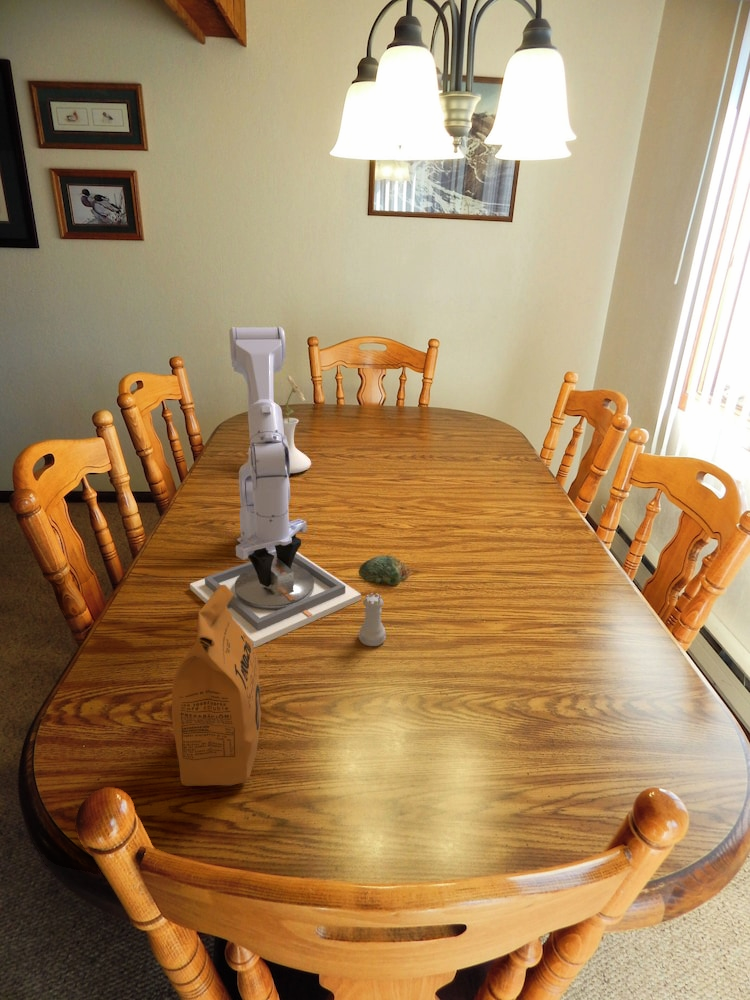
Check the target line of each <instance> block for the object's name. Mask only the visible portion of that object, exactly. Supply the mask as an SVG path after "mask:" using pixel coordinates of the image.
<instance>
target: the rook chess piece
mask: <svg viewBox="0 0 750 1000" xmlns="http://www.w3.org/2000/svg"><path fill="white" fill-rule="evenodd" d="M362 602H363V603H362V604H363V606H364V607H365V608H364V613H365V617H364V621H363V624H362V625H361V626H360V628H359V632H358V633H359V634H358V639H359V641H360V643H362V644H364V646H368V647H378V646H380V645H382V644H383V643H384V642H385V641H386V638H387V636H386V629H385V627H384V625H383V623H382V617H381V616H382V615H381V614H382V612H383V610H382V607H383V606H384V604H385V603H384V600H383V599H382V595H379V593H375V594H374V593H373V592H372V593H371V592H370V593H369V594H367V595H365V598H364V600H363V601H362Z"/></svg>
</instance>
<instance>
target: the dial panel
mask: <svg viewBox="0 0 750 1000" xmlns="http://www.w3.org/2000/svg"><path fill="white" fill-rule="evenodd" d="M273 554H275V555H276V556H277V554H276V552H275V553H273ZM292 565H296V566H299V567H301V568H304V569H305V570H307V571H308V572H309V573H310V574H311V575H312V576H313V579H314V590H313V592H312V594H311V595H310V596H309V597H308V598H306V599H304V600H302V601H299V602H297V603H295V604H292V605H290V606H287V607H285V608H283V609H259V608H254V607H251V606H248V605H246V604H244V603H243V602H241V601H240V600H239V599H238V598H237V596H236V594H235V582H236V580H237V578H238V577H239V576H240V575H241V574H242V573H244V572H245V571H247V570H249V569H251V568H253V567H254V566H253V564H252V563H251V561H250V560H249V561H247V562H245V563H242V564H238V565H236V566H233V567H230V568H228V569H225V570H222V571H219V572H217V573H214V574H210V575H208V576H205V577H204V578H202V579H199V580H197V581H194V582H191V583H189V587H190V588H189V589H190V591H192V592H193V593H194V594H195V595H196V596H197V597H198V598H199V599H200V600H201V601H203V603H205V604H206V602H207V601H208V600H209V599H210V597H211V596H212V595H213V594H214V592H215V591H216V589H217V588H218V587H219V585H226V586H227V587H228V588H229V590H230V591H231V592H232V593H233V597H232V599H231V601H230V602H229V603H228V604H227V608H228V610H229V612H230V614H231V616H232V618H233V620H234V621H235V622H236V623H237V624H238V625H239V626H240V627H241V628H242V629H243V631H244V632H245V633H246V635H247V636H248V638H249V639H250V641H251V642H252V644H253V647H254V649H255V648H257V647H259V646H262V645H264V644H266V643H268V642H271V641H273V640H274V639H277V638H279V637H282V636H283V635H286V634H288V633H290V632H293V631H295V630H297V629H300V628H301V627H303V626H306V625H308V624H311V623H313V622H315V621H317V620H319V619H321V618H324V617H326V616H328V615H331V614H333V613H335V612H337V611H340V610H341V609H344V608H346V607H348V606H350V605H352V604H355V603H357V602H359V601H361V600H362V594H361V592H359V591H357V590H356V589H354V588H353V587H351V586H350V585H348V584H346V583H345V582H344V581H342V580H341V579H339V578H337V577H336V576H335V575H333V574H331V573H330V572H329V571H326V570H325V569H324V568H322V567H321V566H319V565H318V564H316V563H314V562H313V561H311V560H310V559H308V558H307V557H306V556H304V555H303V554H301V553H300V552H298V551H297V552H296V554H295V557H294V559H293V562H292Z"/></svg>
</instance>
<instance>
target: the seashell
mask: <svg viewBox="0 0 750 1000" xmlns="http://www.w3.org/2000/svg"><path fill="white" fill-rule="evenodd" d="M411 573H412V572H411V571H410V568H408V566H407V565H405V563H404V562H402V561H401V560H400V559H399V558H397V557H393V556H392V555H378V556H375V557H372V558H370V559H368V560H366V561H365V562H363V563H362V564H361V565H360V568H359V569H358V574H359V576H361V578H362V580H364V581H366V582H370V583H372V584H373V583H374V584H378V585H389V586H392V587H393V586H397V585H399V583H400V582H403V581H406V580H407V579H408V578H410V576H411Z"/></svg>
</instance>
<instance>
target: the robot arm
mask: <svg viewBox="0 0 750 1000" xmlns="http://www.w3.org/2000/svg"><path fill="white" fill-rule="evenodd" d="M228 332H229V334H228V335H229V346H230V347H229V349H230V360H231V366H232V368H233V371H234V372H236V373H238V374H241V375H242V376H243V377H244V379H245V383H246V385H247V397H248V399H247V400H248V403H247V404H248V410H247V419H248V420H247V422H248V431H249V444H250V445H249V446H248V461H246V462H245V463H244V464H243V465H242V466H241V467H239V470H238V476H239V477H238V487H239V488H238V489H239V500H240V501H239V502H240V506H241V507H240V509H239V526H240V537H238V538H236V540H237V542H239V544H238V545H236V546H235V556H236V557H237V558H239V559H241V560H242V561H243V560H247V559H249V562H250V561H251V563H252V564H253V566H254V568H255V570H256V573H257V576H258V579H259V582H260V584H262V585H264V586H266V587H268V586H270V584H271V566H272V562H273V559H274V555H272V554H270V553H268V551H271V552H272V553H276V554H277V557H278V558H279V559H280V560H281V561H282V562H283V563H284V564H285V565H286V566H287V567H289V568H290V569H291V566H292V562H293V559H294V557H295V554H296V552H298V550H299V548H301V546H302V539H301V538H299V537H297V536H296V535H297V534H298V533H305V532H307V530H308V529H307V521H305V520H303V519H301V518H297V519H294V520H291V521H290V515H289V513H290V512H289V503H290V501H291V486H290V485H291V484H290V478H289V477H290V475H291V473H290V469H291V460H290V450H289V446H288V443H287V439H286V436H285V432H284V427H283V412H282V411H283V410H282V408H281V406H280V405H279V404H278V403H276V402H275V401H274V397H275V396H274V389H275V388H274V374H275V373H277V372H280V371H282V369H283V366H284V363H285V359H286V355H287V354H286V352H287V351H286V349H287V348H286V333H285V330H284V328H282V326H277V327H274V326H273V327H270V326H267V327H264V326H263V327H262V326H261V327H259V326H256V327H235V326H231V328H230V329H229V330H228ZM285 465H286V466H285ZM286 467H287V468H286Z"/></svg>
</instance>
